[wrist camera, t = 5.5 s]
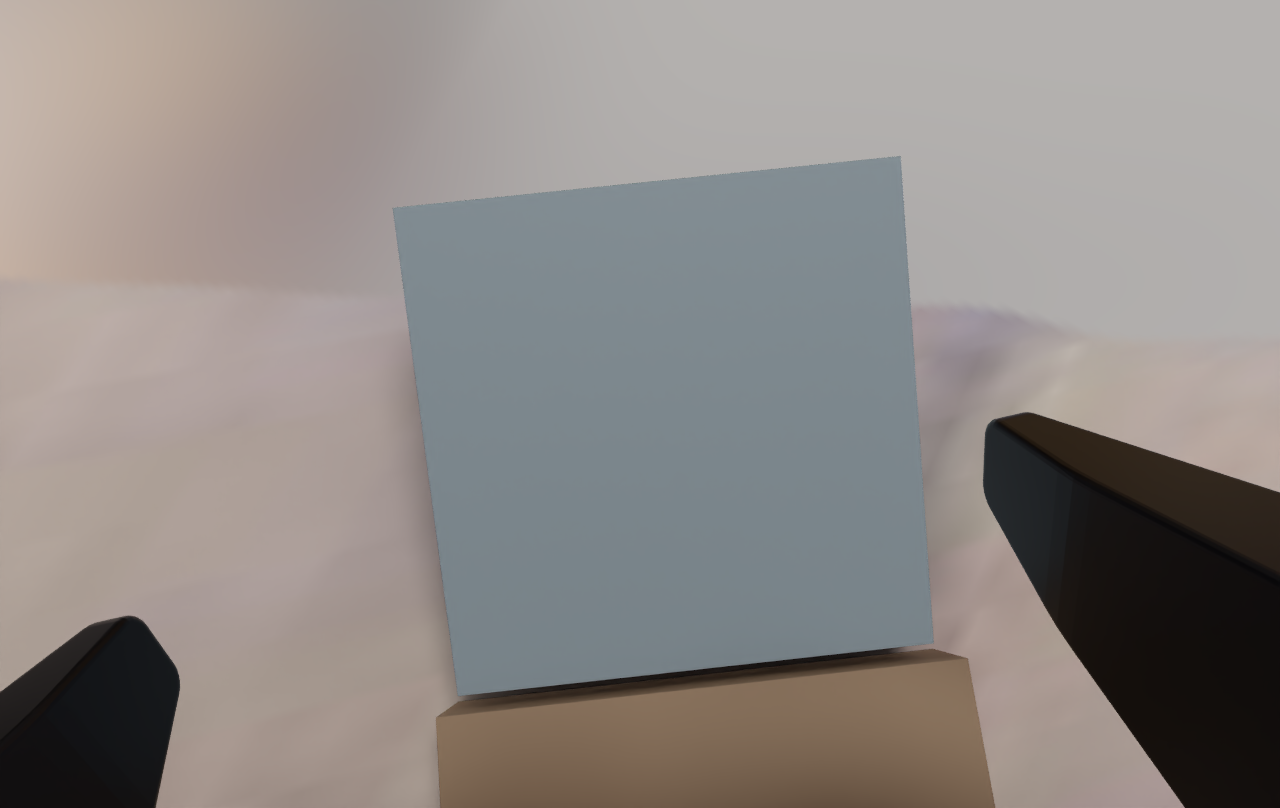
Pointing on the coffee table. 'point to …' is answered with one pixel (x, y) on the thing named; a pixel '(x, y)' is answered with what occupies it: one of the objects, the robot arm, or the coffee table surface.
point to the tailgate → (670, 423)
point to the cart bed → (729, 740)
